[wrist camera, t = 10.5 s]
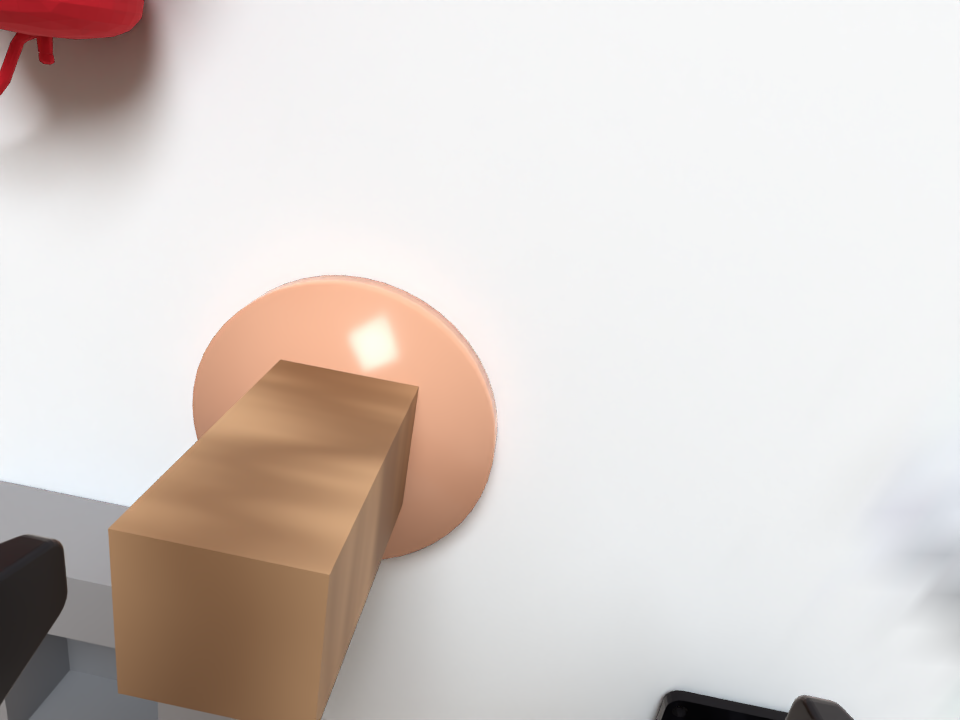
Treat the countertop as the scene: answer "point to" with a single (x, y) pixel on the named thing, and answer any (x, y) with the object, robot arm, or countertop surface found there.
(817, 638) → the countertop surface
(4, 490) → the pocket holder
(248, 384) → the terracotta plate
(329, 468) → the walnut block
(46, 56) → the alarm clock
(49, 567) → the robot arm
